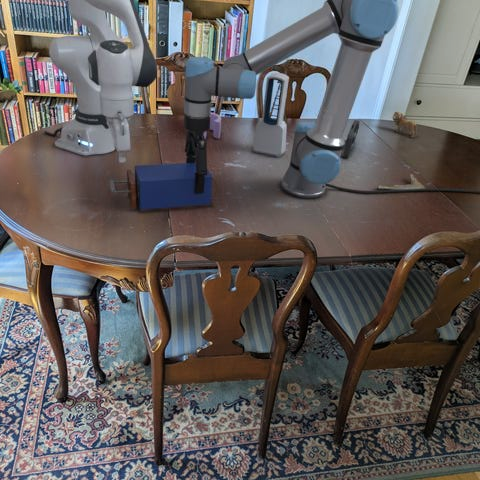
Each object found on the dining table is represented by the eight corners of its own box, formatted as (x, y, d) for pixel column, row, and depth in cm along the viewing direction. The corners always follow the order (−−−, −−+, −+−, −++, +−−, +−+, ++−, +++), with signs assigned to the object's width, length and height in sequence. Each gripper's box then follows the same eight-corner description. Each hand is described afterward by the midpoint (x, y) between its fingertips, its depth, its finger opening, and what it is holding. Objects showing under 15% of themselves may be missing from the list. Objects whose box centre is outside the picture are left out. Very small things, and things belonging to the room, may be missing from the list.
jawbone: (429, 189, 172) (431, 184, 171) (394, 201, 161) (396, 196, 160) (410, 177, 177) (412, 172, 176) (375, 189, 167) (376, 184, 165)
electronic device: (285, 152, 188) (297, 76, 172) (280, 158, 182) (292, 80, 166) (256, 146, 191) (264, 70, 175) (250, 152, 185) (258, 74, 168)
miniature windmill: (283, 131, 209) (293, 61, 193) (265, 128, 210) (273, 58, 194) (285, 124, 217) (296, 57, 200) (268, 122, 218) (276, 54, 201)
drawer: (112, 210, 136) (111, 185, 131) (109, 195, 143) (107, 170, 139) (198, 203, 144) (199, 179, 139) (191, 189, 151) (192, 166, 147)
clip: (182, 123, 206) (183, 107, 202) (209, 122, 210) (210, 106, 207) (197, 140, 191) (197, 123, 187) (225, 138, 195) (226, 122, 191)
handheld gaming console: (349, 160, 187) (354, 136, 182) (342, 158, 188) (347, 134, 183) (355, 142, 206) (361, 119, 201) (349, 140, 207) (354, 118, 201)
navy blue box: (140, 212, 138) (139, 181, 133) (135, 195, 147) (134, 165, 141) (210, 206, 145) (212, 176, 140) (201, 190, 154) (203, 162, 148)
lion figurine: (387, 130, 224) (392, 111, 219) (391, 127, 228) (397, 109, 223) (416, 139, 217) (422, 120, 212) (420, 136, 220) (426, 118, 215)
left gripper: (135, 119, 118) (136, 169, 126) (124, 95, 134) (126, 141, 142) (109, 119, 116) (112, 170, 124) (101, 96, 132) (104, 142, 140)
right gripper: (221, 129, 125) (216, 201, 137) (200, 102, 144) (197, 168, 155) (194, 129, 123) (191, 203, 135) (176, 102, 141) (174, 169, 153)
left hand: (119, 154), depth 133 cm, fingers open, 8 cm apart
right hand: (194, 184), depth 145 cm, fingers closed on navy blue box, 11 cm apart
